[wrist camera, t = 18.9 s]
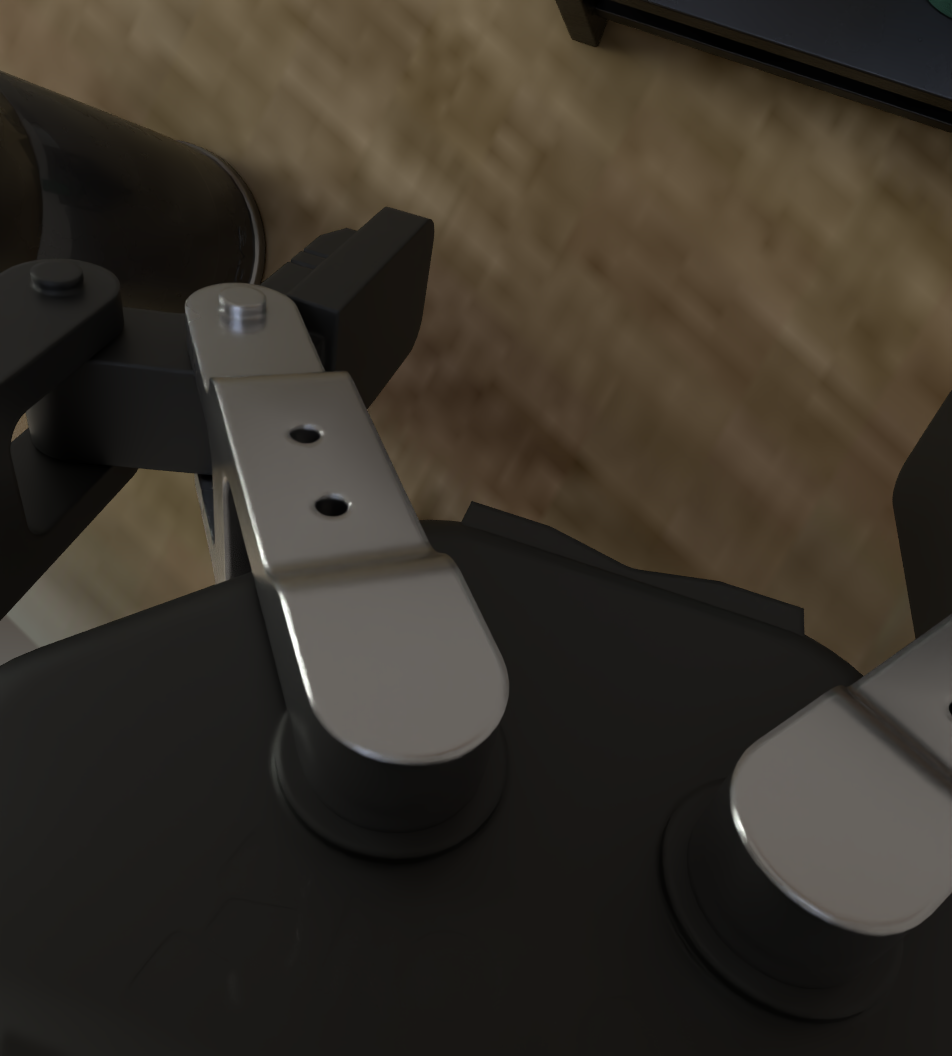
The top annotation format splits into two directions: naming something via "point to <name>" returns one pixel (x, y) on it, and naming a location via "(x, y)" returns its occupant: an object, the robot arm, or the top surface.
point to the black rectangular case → (806, 43)
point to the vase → (943, 6)
